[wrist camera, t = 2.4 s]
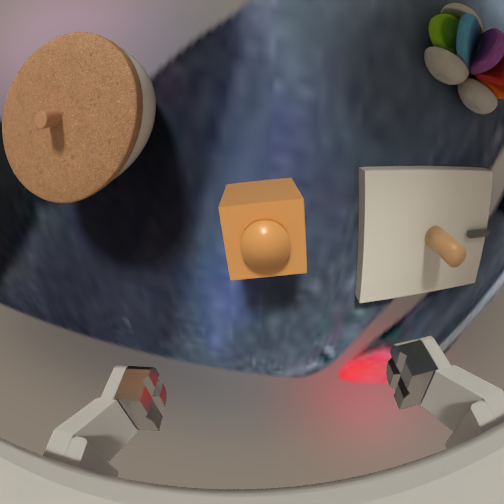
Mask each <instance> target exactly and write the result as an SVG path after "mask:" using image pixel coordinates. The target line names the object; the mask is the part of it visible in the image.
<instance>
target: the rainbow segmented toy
mask: <svg viewBox="0 0 504 504" xmlns="http://www.w3.org/2000/svg"><path fill="white" fill-rule="evenodd" d="M429 36H430V39H431V42H432V44H433V46H434V47H428V48H427V49H426V50H425V54H424V59H425V64H426V66H427V68H428V70H429V72H430V73H431V74H432V75H433V76H434V77H435V78H436V79H437V80H439V81H441V82H443V83H445V84H449V85H456V84H458V93H459V96H460V98H461V100H462V102H463V103H464V105H465V106H466V107H467V108H469V109H470V110H471V111H473V112H475V113H478V114H488V113H491V112H492V111H494V110H495V108H496V107H497V105H498V101H497V99H503V100H504V34H503V33H502V32H501V31H500V30H498V29H495V28H493V29H490V30H487V31H485V32H484V33H483V26H482V22H481V20H480V18H479V17H478V15H477V14H476V13H475V12H474V11H473V10H472V9H471V8H470V7H468V6H466V5H464V4H460V3H450V4H447V5H445V6H444V7H443V8H442V10H441V14H438V15H435V16H434V17H432V18H431V20H430V23H429Z"/></svg>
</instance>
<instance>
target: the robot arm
mask: <svg viewBox="0 0 504 504" xmlns="http://www.w3.org/2000/svg"><path fill="white" fill-rule="evenodd" d="M390 353H391V356H392V358H391V359H390V360H389V361H388V364H387V379H388V382H389V385H390V386H391V387H392V388H394V389H395V390H396V391H395V394H394V397H395V400H396V402H397V405H398V407H399V409H404V408H408V407H412V406H415V405H419V404H421V406H422V407H423V408H424V409H426V410H427V411H428V412H429V413H431V414H432V415H433V416H435V417H436V418H437V419H438V420H440V421H441V422H442V423H443V424H445V425H446V426H447V427H448V428H450V429H451V430H452V431H453V433H452V435H451V436H450V438H449V439H448V440H447V442H446V444H445V446H446V448H447V449H446V450H443V451H441V452H438V453H435V454H433V455H430V456H427V457H424V458H422V459H419V460H416V461H413V462H410V463H406V464H403V465H400V466H397V467H393V468H390V469H386V470H382V471H378V472H374V473H370V474H366V475H362V476H357V477H352V478H348V479H343V480H337V481H332V482H325V483H318V484H311V485H303V486H295V487H284V488H270V489H202V488H188V487H177V486H168V485H159V484H153V483H146V482H140V481H134V480H129V479H124V478H119V477H118V471H117V470H116V469H115V468H114V467H113V466H112V465H111V464H110V463H109V461H110V460H111V459H112V458H113V457H114V456H115V455H116V454H117V453H118V451H119V450H120V449H121V448H122V447H123V446H124V445H125V444H126V443H127V442H128V441H129V440H130V439H131V438H132V437H133V435H134V434H135V433H136V432H137V431H138V430H150V431H159V429H160V425H161V421H162V415H161V413H160V411H161V410H162V409H163V408H164V407H165V404H166V389H165V386H164V384H163V382H161V381H160V380H159V379H158V376H159V373H158V371H157V369H156V368H153V367H137V366H136V367H135V366H118V365H117V366H116V367H115V368H114V369H113V371H112V373H111V375H110V378H109V380H108V382H107V384H106V387H105V389H104V391H103V393H102V396H101V398H96V399H95V400H93V401H92V402H91V403H90V404H88V405H87V406H86V407H84V408H83V409H81V410H80V411H79V412H77V413H76V414H75V415H74V416H72V417H71V418H69V419H68V420H67V421H65V422H64V423H63V424H61V425H60V426H58V427H57V428H56V429H54V432H53V434H52V436H51V438H50V440H49V443H48V445H47V447H46V450H45V452H44V454H43V455H40V454H37V453H35V452H32V451H30V450H27V449H25V448H22V447H20V446H17V445H16V444H13V443H11V442H9V441H7V440H5V439H2V438H0V504H504V393H503V391H502V390H501V389H500V388H498V387H496V386H494V385H492V384H490V383H488V382H486V381H484V380H482V379H481V378H479V377H477V376H475V375H473V374H471V373H469V372H467V371H465V370H464V369H462V368H460V367H458V366H456V365H452V366H451V365H450V363H449V361H448V360H447V358H446V356H445V355H444V353H443V352H442V350H441V349H440V347H439V346H438V344H437V342H436V341H435V339H434V338H433V337H432V336H427V337H423V338H419V339H415V340H411V341H407V342H402V343H398V344H393V346H392V347H391V351H390Z"/></svg>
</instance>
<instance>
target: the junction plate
mask: <svg viewBox="0 0 504 504" xmlns="http://www.w3.org/2000/svg"><path fill="white" fill-rule="evenodd" d="M492 182H493V171H491V170H489V169H486V168H481V167H457V166H376V167H359V232H358V257H357V275H356V289H355V295H356V297H357V299H358V301H359V303H365V302H372V301H378V300H385V299H391V298H397V297H403V296H408V295H415V294H421V293H426V292H431V291H437V290H442V289H447V288H452V287H457V286H462V285H467V284H471V283H475V280H476V276H477V272H478V268H479V264H480V260H481V255H482V250H483V245H484V240H485V237H487V236H489V235H490V230H489V229H487V223H488V217H489V209H490V202H491V194H492V184H493V183H492Z"/></svg>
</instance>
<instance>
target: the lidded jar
mask: <svg viewBox="0 0 504 504" xmlns="http://www.w3.org/2000/svg"><path fill="white" fill-rule="evenodd" d="M155 113H156V98H155V92H154V88H153V85H152V82H151V79H150V77H149V76H148V74H147V72H146V70H145V69H144V67H143V66H142V65H141V63H140V62H139V61H138V60H137V59H136V58H135V57H134V56H133V55H131V54H130V53H129V52H128V51H126V50H125V49H123V48H122V47H119V46H118V45H116V44H115V43H114V42H112V41H110V40H108V39H106V38H104V37H102V36H100V35H96V34H92V33H88V32H75V33H70V34H65V35H62V36H59V37H57V38H55V39H53V40H51V41H49V42H47V43H46V44H44V45H43V46H42V47H40V48H39V49H38V50H37V51H35V52H34V53H33V54H32V55H31V56H30V57H29V58H28V59H27V60H26V62H25V63H24V64H23V66H22V67H21V69H20V70H19V72H18V73H17V75H16V77H15V78H14V80H13V82H12V85H11V87H10V90H9V92H8V95H7V99H6V102H5V106H4V113H3V123H2V132H3V142H4V148H5V152H6V155H7V158H8V161H9V164H10V166H11V168H12V170H13V172H14V173H15V175H16V176H17V178H18V179H19V181H20V182H21V183H22V184H23V185H24V186H25V187H26V188H27V189H28V190H29V191H31V192H32V193H33V194H35V195H37V196H38V197H40V198H42V199H44V200H48V201H51V202H56V203H72V202H76V201H80V200H83V199H85V198H87V197H89V196H91V195H93V194H95V193H97V192H98V191H99V190H101V189H102V188H104V187H105V186H106V185H108V184H109V183H110V182H111V181H112V180H114V179H115V178H117V177H118V176H119V175H121V174H122V173H123V172H124V171H125V170H126V169H127V168H128V167H129V166H130V165H131V164H132V163H133V162H134V161H135V160H136V158H137V157H138V156H139V155H140V153H141V152H142V150H143V148H144V147H145V145H146V143H147V142H148V139H149V137H150V134H151V132H152V129H153V125H154V121H155Z"/></svg>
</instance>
